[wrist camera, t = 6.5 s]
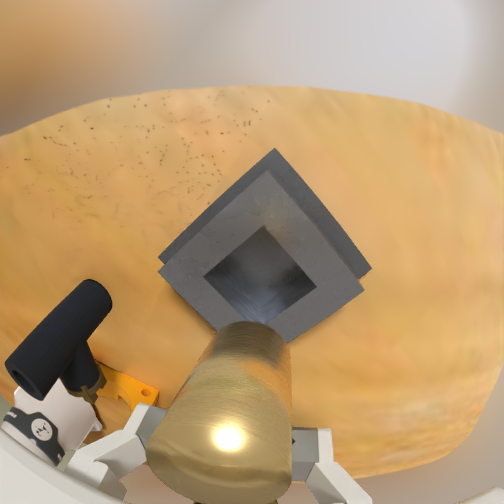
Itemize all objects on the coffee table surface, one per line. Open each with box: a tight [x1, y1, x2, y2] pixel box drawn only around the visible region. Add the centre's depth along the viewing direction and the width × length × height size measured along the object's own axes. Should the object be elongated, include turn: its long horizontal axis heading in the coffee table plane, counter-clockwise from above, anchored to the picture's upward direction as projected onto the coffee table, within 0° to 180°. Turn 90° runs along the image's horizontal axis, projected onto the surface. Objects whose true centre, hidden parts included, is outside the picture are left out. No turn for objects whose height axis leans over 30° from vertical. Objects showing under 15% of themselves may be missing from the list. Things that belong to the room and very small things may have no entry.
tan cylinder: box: [145, 321, 292, 504], centre depth 10 cm, size 4×4×8 cm
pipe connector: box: [5, 279, 112, 405], centre depth 25 cm, size 12×5×15 cm, turn 177°
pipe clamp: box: [78, 359, 159, 416], centre depth 32 cm, size 12×4×6 cm, turn 71°
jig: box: [158, 148, 372, 343], centre depth 24 cm, size 15×14×5 cm
